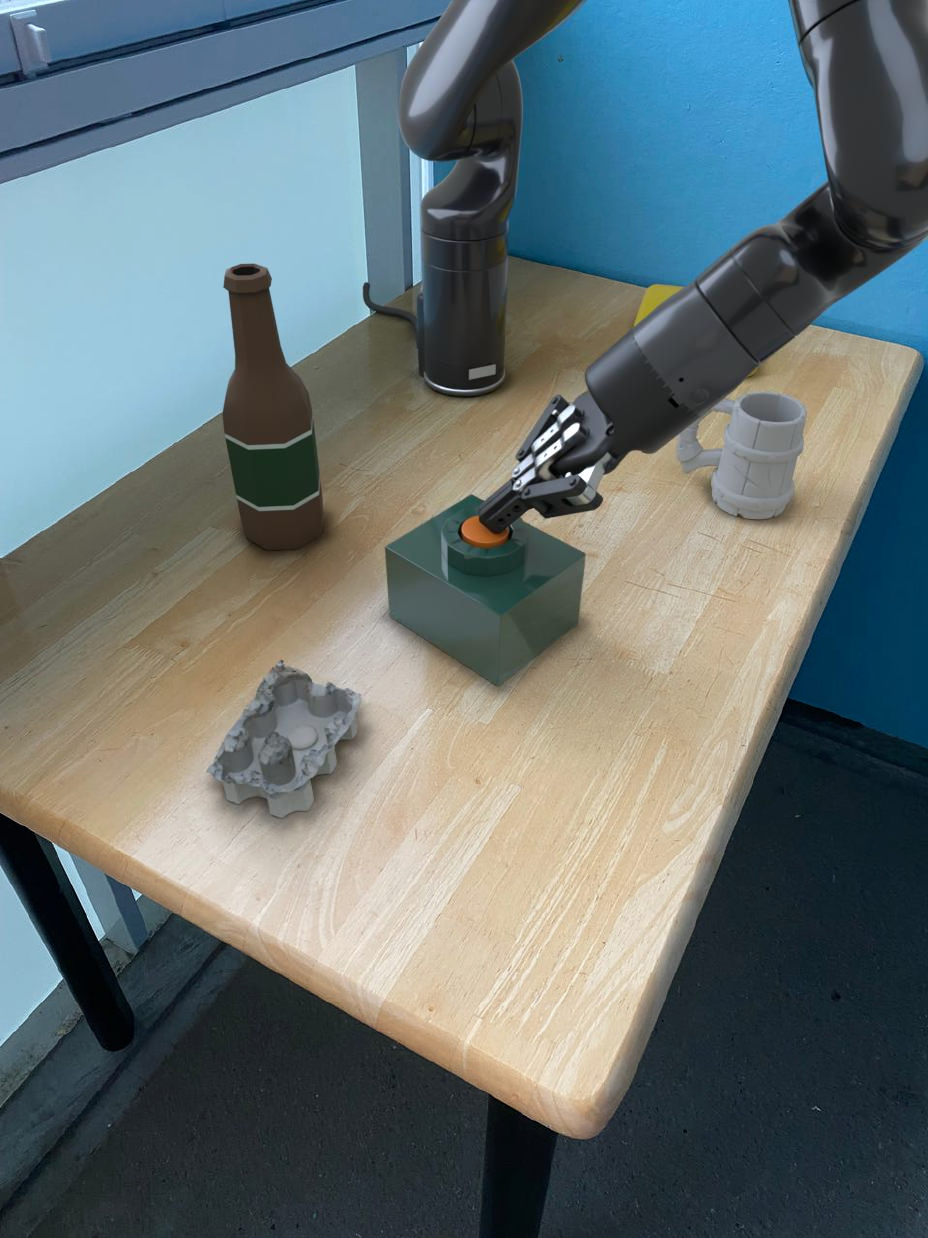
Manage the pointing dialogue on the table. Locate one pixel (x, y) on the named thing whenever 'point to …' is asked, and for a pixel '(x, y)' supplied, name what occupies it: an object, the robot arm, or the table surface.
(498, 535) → the orange button
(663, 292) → the element tile
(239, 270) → the beer bottle
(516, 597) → the green button block
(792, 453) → the mug
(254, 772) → the egg carton
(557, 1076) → the table surface
